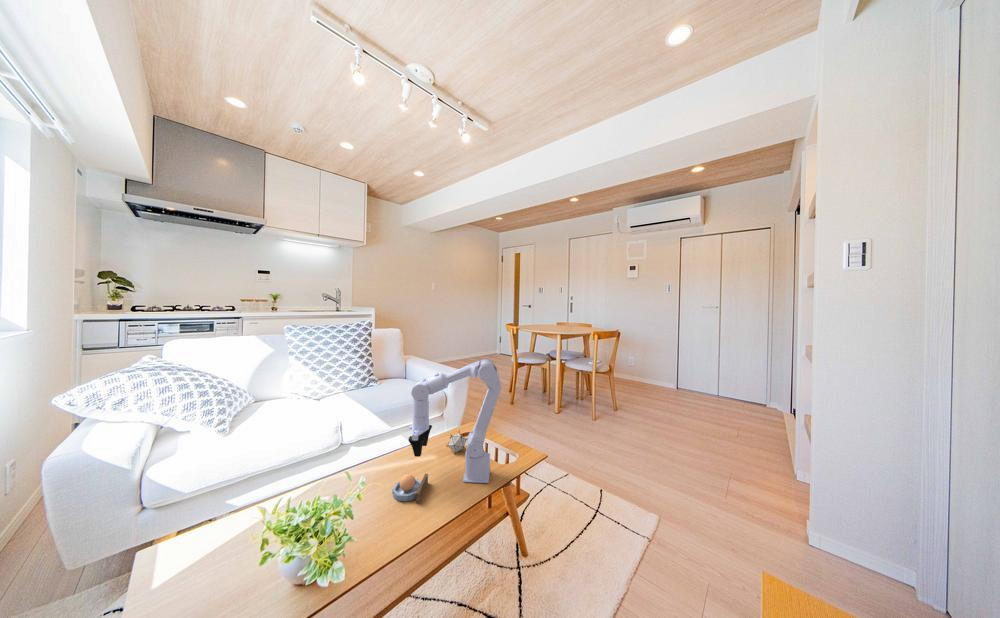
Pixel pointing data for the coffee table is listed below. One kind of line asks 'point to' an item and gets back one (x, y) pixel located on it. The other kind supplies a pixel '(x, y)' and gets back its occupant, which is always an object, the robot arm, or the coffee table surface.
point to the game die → (456, 442)
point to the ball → (407, 482)
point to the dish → (405, 492)
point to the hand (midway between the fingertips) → (420, 450)
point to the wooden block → (421, 488)
